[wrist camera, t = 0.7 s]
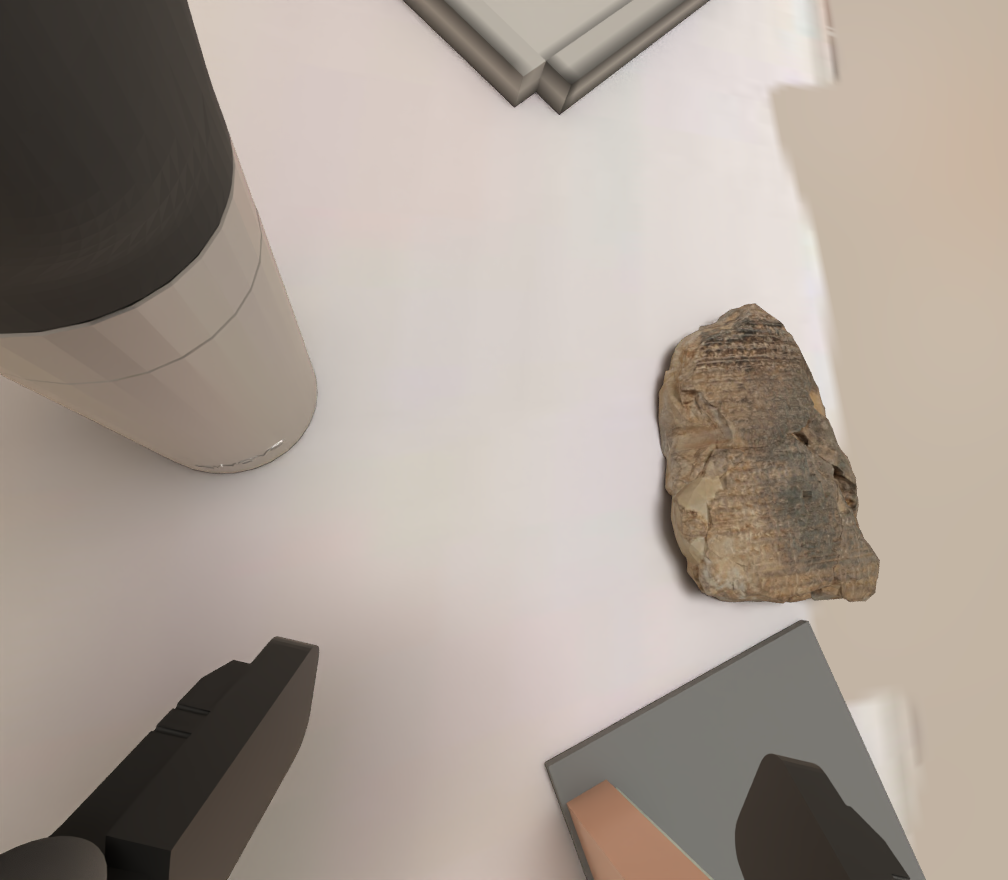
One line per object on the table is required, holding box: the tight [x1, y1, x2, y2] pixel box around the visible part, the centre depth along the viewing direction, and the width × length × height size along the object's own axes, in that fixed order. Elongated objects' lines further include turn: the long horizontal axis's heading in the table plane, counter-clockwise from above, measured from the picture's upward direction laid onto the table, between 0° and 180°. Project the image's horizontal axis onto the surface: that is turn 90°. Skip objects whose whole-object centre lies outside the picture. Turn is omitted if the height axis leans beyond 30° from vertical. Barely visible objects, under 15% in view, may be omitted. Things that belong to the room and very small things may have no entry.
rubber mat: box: [545, 620, 926, 880], centre depth 29 cm, size 16×19×1 cm
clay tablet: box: [659, 304, 880, 603], centre depth 33 cm, size 14×5×20 cm
